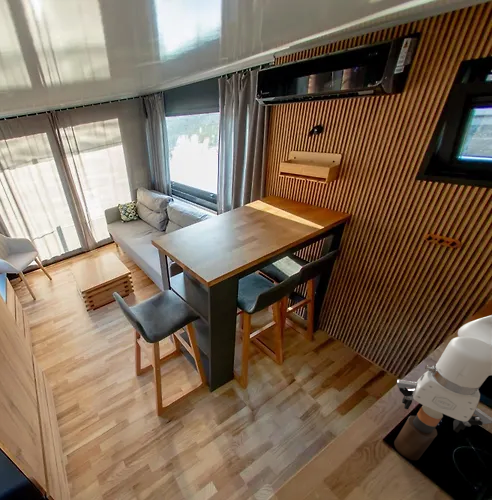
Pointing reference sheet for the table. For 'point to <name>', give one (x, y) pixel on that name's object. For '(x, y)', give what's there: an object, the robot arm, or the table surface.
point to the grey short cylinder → (423, 426)
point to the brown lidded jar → (413, 440)
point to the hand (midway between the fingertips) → (429, 415)
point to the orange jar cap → (429, 416)
